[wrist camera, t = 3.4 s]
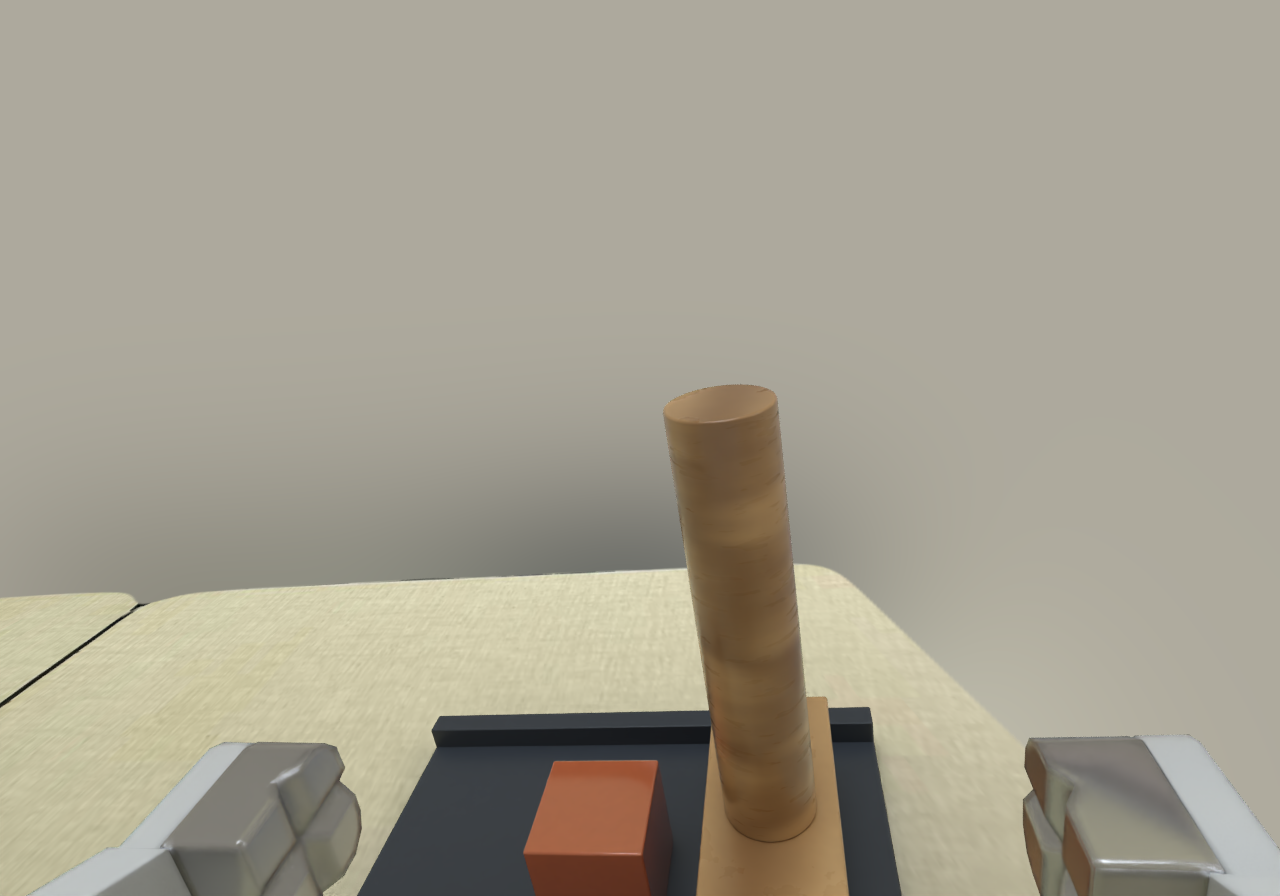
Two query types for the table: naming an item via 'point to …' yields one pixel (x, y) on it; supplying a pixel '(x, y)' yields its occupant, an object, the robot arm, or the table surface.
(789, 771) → the brush
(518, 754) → the tray
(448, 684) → the table surface
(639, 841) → the block
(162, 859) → the robot arm
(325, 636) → the table surface
